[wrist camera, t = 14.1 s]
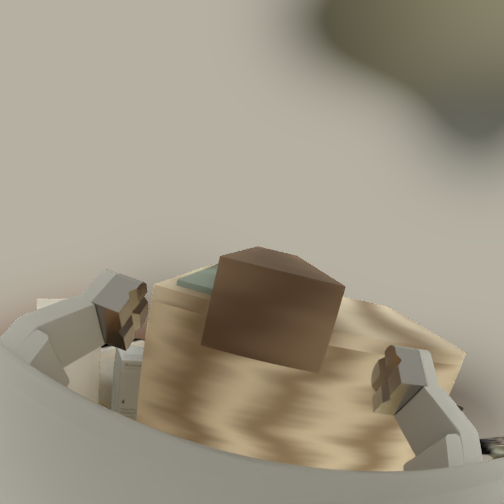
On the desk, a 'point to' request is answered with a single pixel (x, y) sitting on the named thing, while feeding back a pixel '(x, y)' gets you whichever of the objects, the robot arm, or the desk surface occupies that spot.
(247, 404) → the birch stand
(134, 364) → the skincare box
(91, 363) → the milk carton
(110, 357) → the desk surface
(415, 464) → the robot arm
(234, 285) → the walnut bar
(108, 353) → the desk surface
